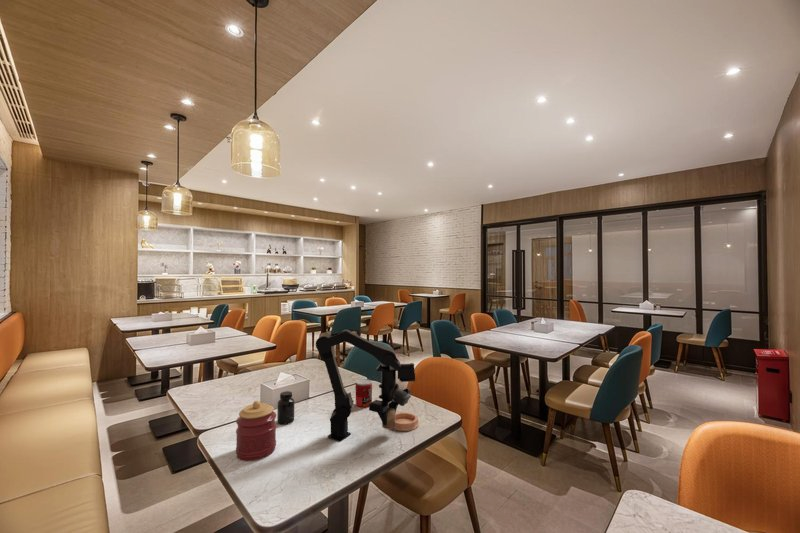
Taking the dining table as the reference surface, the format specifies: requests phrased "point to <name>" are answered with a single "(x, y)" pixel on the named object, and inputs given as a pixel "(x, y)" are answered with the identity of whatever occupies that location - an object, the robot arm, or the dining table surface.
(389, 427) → the bead
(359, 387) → the canned food
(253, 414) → the canister
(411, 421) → the dish
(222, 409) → the dining table surface
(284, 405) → the supplement bottle
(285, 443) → the dining table surface
